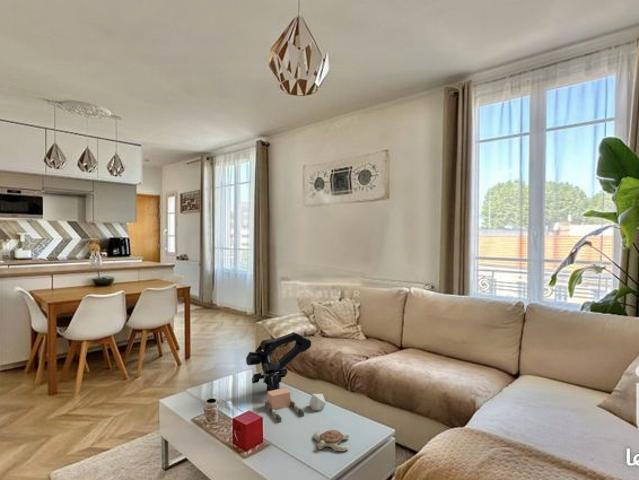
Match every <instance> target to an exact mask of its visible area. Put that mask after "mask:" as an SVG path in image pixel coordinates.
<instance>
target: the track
mask: <svg viewBox="0 0 639 480" xmlns="http://www.w3.org/2000/svg"><path fill="white" fill-rule="evenodd" d="M290 406H291V408H292V409H294V410H295V411H296V412H297V413H298V414H299V415H300V416H301V418H303V417H305V411H304V410H303V409H302V408H301V407H299V405H297V404H296V402H295V401H293V400H292V399H291V398H290ZM264 407H265V408H266V410H268V412H269V413H270V414H271V416H273V417H274V419H276V420H277V422H278V424H279V423H282V417H281V416H280V414H279V413H278V412H277V411H276V409H275V410H274V409H273V408H272V407H271V406H270V405H269V403H268V402H267V401H266V400H265V401H264Z"/></svg>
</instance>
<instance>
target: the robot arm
mask: <svg viewBox="0 0 639 480" xmlns="http://www.w3.org/2000/svg"><path fill="white" fill-rule="evenodd" d="M292 342H295V343H294V346H293V347H292V348H291V349H290V350H288V352H286V353H285V354H284V355H283V356H281V358H280V359H278V360H275V361H274V362H273V361H272V356H273V353H274V352H273V351H275V350H276V349H277V348H278V347H281V346H283V345H286V344H290V343H292ZM311 347H312V341H311V340H310V339H308V338H306V337H305V336H304V337H303V336H302V335H300V334H299V333H297V332H295V331H293V332H291V333H288V334H285V335H282V336H279V337H277V338H270V339H263V340H262V341H261V342H260V344H259V346H258V347H257V348H256V349H255V351H249V352H248V354H247V355H246V359H245V362H246V365H247V366H256V365H259V364H261V370H262V372H263V374H262V373H261V372H258V373H254V374H253V375H252V378H251V382H252V384H258V383H259V381H260V380H263V381H262V383H265V384H266V390H265V392H268V391H273V390H277V389H281V388H280V383H282V379H283V378H286V376H287V374H288V373H289V372H288V369H287V368H285V367H286V366H287V365H288V364H289V363H291V361H292V360H294V359H295V358H296V357H297V356H298V355H299V354H300V353H303V352H306V351H307V350H309V349H310V348H311Z"/></svg>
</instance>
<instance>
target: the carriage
mask: <svg viewBox="0 0 639 480" xmlns="http://www.w3.org/2000/svg"><path fill="white" fill-rule="evenodd" d="M266 392H267V396H266V397H267V398H266V399H267V402H268V403H269V405H270V406H271V407H272V408H273V409H274V410H275V411H276V410H278V409H283V408H287V407H290V406H291V405H290V399H291V391H290V390H289V389H287V388H286V387H282V388H279V389H277V390H273V391H266Z"/></svg>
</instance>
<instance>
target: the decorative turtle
mask: <svg viewBox="0 0 639 480" xmlns="http://www.w3.org/2000/svg"><path fill="white" fill-rule="evenodd" d="M312 437H313V439H314V440H315V441H318V442H317V443H316V444H317V445H316V447H317V449H318V450H322V449H324V448H325V447H326V448H329V447H330V448H331V449H333V450H335V451H339V452H344V451H347V450H349V449H350V446H349V445H339V444H340V443H341V442H342V440H348V439H350V435H349V434H347V433H346V434H343V433H342V432H340V430H339V429H330V430H329V429H328V430H326V431H324V432H322V433H321V434H320V431H319V430H318V431H316V432H314V433H313V436H312Z"/></svg>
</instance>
